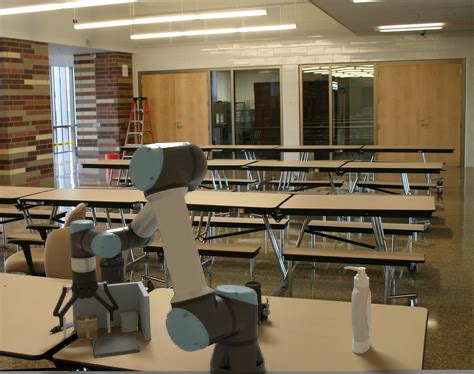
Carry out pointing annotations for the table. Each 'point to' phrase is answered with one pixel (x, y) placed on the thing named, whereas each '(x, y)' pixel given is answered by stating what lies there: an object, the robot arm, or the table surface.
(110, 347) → the mat
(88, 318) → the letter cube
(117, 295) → the screen
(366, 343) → the soap bottle
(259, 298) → the scope
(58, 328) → the marker
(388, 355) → the table surface
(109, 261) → the grenade
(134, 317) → the plain cube
